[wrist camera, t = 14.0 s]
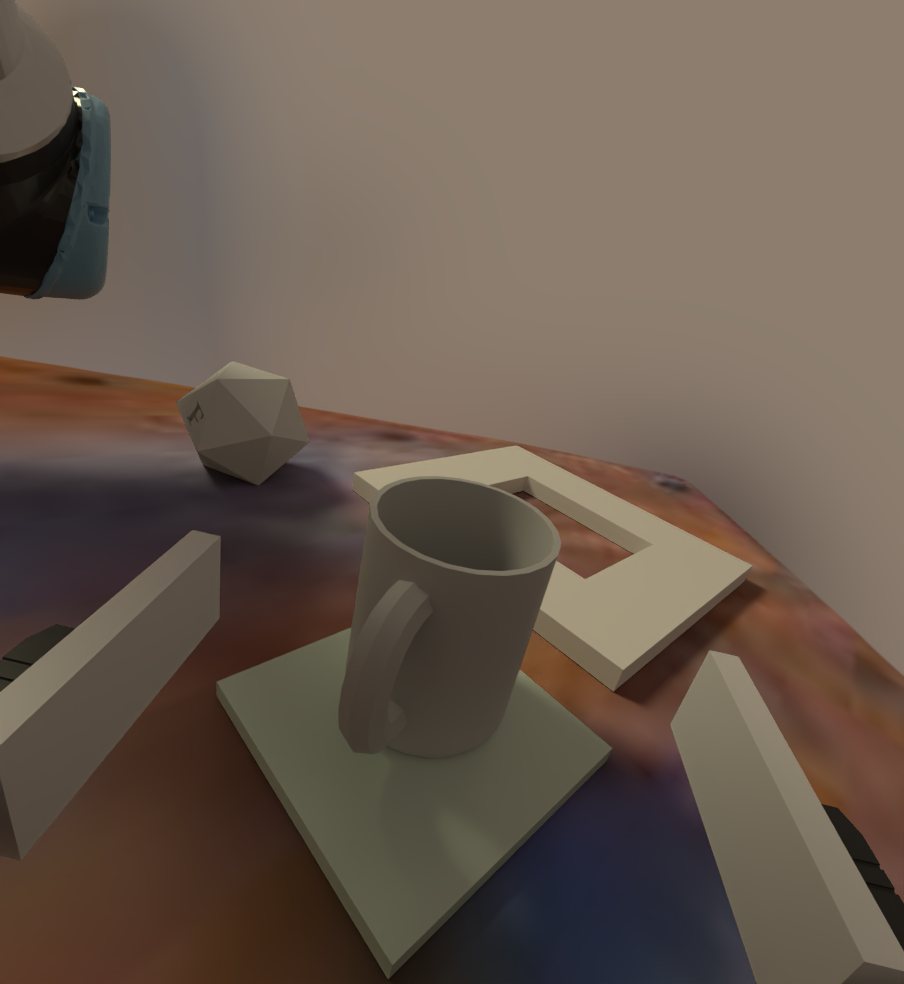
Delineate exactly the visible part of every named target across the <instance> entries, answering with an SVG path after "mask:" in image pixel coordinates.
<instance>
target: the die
mask: <svg viewBox="0 0 904 984" xmlns="http://www.w3.org/2000/svg"><path fill="white" fill-rule="evenodd" d="M176 404H177V406H178V408H179V411H180V413H181V415H182V418H183V420H184V422H185V425H186V427H187V429H188V432H189V434H190V436H191V439H192V441H193V444H194V446H195V448H196V451H197V453H198V455H199V457H200V459H201V461H202V464H203V465H204V466H207V467H210V468H212V469H215V470H218V471H220V472H223V473H226V474H228V475H231V476H234V477H236V478H239V479H242V480H244V481H247V482H250V483H252V484H255V485H258V486H259V485H260V484H261V483H262V482H263V481H265V480H266V479H267V478H268V477H269V476H270V475H272V474H273V473H274V472H275V471H276V470H278V469H279V468H280V467H281V466H282V465H283V464H285V463H286V462H287V461H288V460H289V459H290V458H292V457H293V456H294V455H295V454H296V453H297V452H299V451H300V450H301V449H302V448H303V447H305V446H306V445H307V444H308V443H309V439H308V436H307V433H306V430H305V426H304V423H303V420H302V417H301V414H300V411H299V408H298V405H297V401H296V398H295V395H294V392H293V389H292V386H291V382H290V379H287V378H284V377H281V376H278V375H275V374H272V373H268V372H265V371H262V370H259V369H255V368H253V367H249V366H246V365H243V364H239V363H237V362H231V363H229V364H228V365H226V366H225V367H224V368H223V369H221V370H220V371H218V372H217V373H216V374H214V375H213V376H211V377H210V378H209V379H207V380H206V381H204V382H203V383H202V384H201V385H199V386H198V387H196V388H195V389H194V390H192V391H191V392H189V393H188V394H187V395H185V396H184V397H183V398H181V399H180V400H178V401H177V402H176Z"/></svg>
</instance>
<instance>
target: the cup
mask: <svg viewBox="0 0 904 984" xmlns="http://www.w3.org/2000/svg"><path fill="white" fill-rule="evenodd" d="M560 547H561V541H560V537H559V533H558V531H557V529H556V528H555V527H554V525H553V524H552V522H551V521H550V519H548V518H547V517H546V516H545V515H544V514H543V513H542V512H540V511H539V510H538V509H537V508H536V507H534V506H532V505H531V504H529V503H527V502H526V501H524V500H523V499H521V498H519V497H517V496H515V495H512V494H510V493H508V492H506V491H504V490H501V489H498V488H495V487H492V486H489V485H486V484H483V483H479V482H475V481H470V480H465V479H461V478H452V477H442V476H418V477H412V478H406V479H400V480H398V481H395V482H392V483H390V484H387V485H385V486H384V487H383V488H381V489H380V490H379V491H377V492H376V493H375V495H374V497H373V499H372V501H371V503H370V506H369V513H368V520H367V526H366V533H365V540H364V547H363V553H362V560H361V567H360V573H359V580H358V587H357V594H356V600H355V607H354V614H353V620H352V627H351V634H350V640H349V647H348V654H347V661H346V672H345V678H344V681H343V685H342V689H341V696H340V702H339V709H338V719H339V729H340V731H341V733H342V735H343V736H344V738H345V740H346V741H347V743H348V744H349V746H350V748H351V749H352V751H353V752H355V753H365V754H375V753H379V752H381V751H382V750H383V749H384V748H385V747H386V746H388V747H390V748H392V749H394V750H397V751H399V752H401V753H403V754H407V755H412V756H417V757H422V758H447V757H451V756H454V755H457V754H461V753H464V752H467V751H470V750H473V749H474V748H476V747H477V746H479V745H480V744H482V743H483V742H485V741H486V740H488V739H489V738H490V736H491V735H492V734H493V733H494V731H495V730H496V729H497V728H498V726H499V725H500V723H501V720H502V718H503V716H504V714H505V711H506V708H507V705H508V702H509V699H510V696H511V693H512V690H513V687H514V684H515V681H516V678H517V675H518V672H519V669H520V666H521V663H522V660H523V657H524V654H525V652H526V649H527V646H528V643H529V640H530V637H531V634H532V631H533V628H534V625H535V622H536V619H537V616H538V613H539V610H540V607H541V604H542V601H543V598H544V595H545V592H546V589H547V586H548V583H549V580H550V577H551V574H552V571H553V568H554V565H555V563H556V560H557V557H558V553H559V550H560Z"/></svg>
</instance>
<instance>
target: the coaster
mask: <svg viewBox="0 0 904 984" xmlns="http://www.w3.org/2000/svg"><path fill="white" fill-rule="evenodd" d="M350 634H351V628H348V629H346V630H343V631H341V632H338V633H336V634H333V635H331V636H329V637H326V638H324V639H321V640H319V641H316V642H314V643H311V644H309V645H306V646H304V647H301V648H299V649H296V650H294V651H291V652H289V653H286V654H284V655H281V656H279V657H276V658H274V659H271V660H269V661H267V662H264V663H262V664H259V665H257V666H254V667H252V668H249V669H247V670H244V671H242V672H239V673H237V674H234V675H232V676H229V677H227V678H224V679H222V680H219V681H217V683H216V696H217V698H218V699H219V701H220V703H221V704H222V706H223V707H224V709H225V711H226V712H227V714H228V716H229V717H230V719H231V721H232V722H233V724H234V726H235V727H236V729H237V731H238V732H239V734H240V736H241V737H242V739H243V741H244V742H245V744H246V746H247V747H248V749H249V750H250V752H251V754H252V755H253V757H254V759H255V760H256V762H257V764H258V765H259V767H260V769H261V770H262V772H263V774H264V775H265V777H266V779H267V780H268V782H269V784H270V785H271V787H272V789H273V790H274V792H275V793H276V795H277V797H278V798H279V800H280V802H281V803H282V805H283V807H284V808H285V810H286V812H287V813H288V815H289V817H290V818H291V820H292V822H293V823H294V825H295V827H296V828H297V830H298V832H299V833H300V835H301V836H302V838H303V840H304V841H305V843H306V845H307V846H308V848H309V850H310V851H311V853H312V855H313V856H314V858H315V860H316V861H317V863H318V865H319V866H320V868H321V870H322V871H323V873H324V874H325V876H326V878H327V879H328V881H329V883H330V884H331V886H332V888H333V889H334V891H335V893H336V894H337V896H338V898H339V899H340V901H341V903H342V904H343V906H344V908H345V909H346V911H347V913H348V914H349V916H350V917H351V919H352V921H353V922H354V924H355V926H356V927H357V929H358V931H359V932H360V934H361V936H362V937H363V939H364V941H365V942H366V944H367V946H368V947H369V949H370V951H371V952H372V954H373V956H374V957H375V959H376V960H377V962H378V964H379V965H380V967H381V969H382V970H383V972H384V974H385V975H386V977H387V979H389V978H390V977H391V976H392V975H393V974H394V973H395V972H396V971H397V970H398V969H399V968H400V967H401V966H402V965H403V964H404V963H405V962H406V961H407V960H408V959H409V958H410V957H411V956H412V955H413V954H414V953H415V952H416V951H417V950H418V949H419V948H420V947H421V946H422V945H423V944H424V943H425V942H426V941H427V940H428V939H429V938H430V937H431V936H432V935H433V934H434V933H435V932H436V931H437V930H438V929H439V928H440V927H441V926H442V925H443V924H444V923H445V922H446V921H447V920H448V919H449V918H450V917H451V916H452V915H453V914H454V913H455V912H456V911H457V910H458V909H459V908H460V907H461V906H462V905H463V904H464V903H465V902H466V901H467V900H468V899H469V898H470V897H471V896H472V895H473V894H474V893H475V892H476V891H477V890H478V889H479V888H480V887H481V886H482V885H483V884H484V883H485V882H486V881H487V880H488V879H489V878H490V877H491V876H492V875H493V874H494V873H495V872H496V871H497V870H498V869H499V868H500V867H501V866H502V865H503V864H504V863H505V862H506V861H507V860H508V859H509V858H510V857H511V856H512V855H513V854H514V853H515V852H516V851H517V850H518V849H519V848H520V847H521V846H522V845H523V844H524V843H525V842H526V841H527V840H528V839H529V838H530V837H531V836H532V835H533V834H534V833H535V832H536V831H537V830H538V829H539V828H540V827H541V826H542V825H543V824H544V823H545V822H546V821H547V820H548V819H549V818H550V817H551V816H552V815H553V814H554V813H555V812H556V811H557V810H558V809H559V808H560V807H561V806H562V805H563V804H564V803H565V802H566V801H567V800H568V799H569V798H570V797H571V796H572V795H573V794H574V793H575V792H576V791H577V790H578V789H579V788H580V787H581V786H582V785H583V784H584V783H585V782H586V781H587V780H588V779H589V778H590V777H591V776H592V775H593V774H594V773H595V772H596V771H597V770H598V769H599V768H600V767H601V766H602V765H603V764H604V763H605V762H606V761H607V759H608V757H609V755H610V753H611V750H612V748H611V747H610V746H609V745H608V744H607V743H606V742H604V741H603V740H602V739H601V738H600V737H598V736H597V735H596V734H595V733H594V732H593V731H591V730H590V729H589V728H588V727H587V726H586V725H584V724H583V723H582V722H581V721H580V720H578V719H577V718H576V717H575V716H574V715H573V714H571V713H570V712H569V711H568V710H567V709H566V708H564V707H563V706H562V705H561V704H560V703H558V702H557V701H556V700H555V699H554V698H553V697H551V696H550V695H549V694H548V693H547V692H545V691H544V690H543V689H542V688H541V687H540V686H538V685H537V684H536V683H535V682H534V681H533V680H531V679H530V678H529V677H528V676H527V675H525V674H524V673H523V672H522V671H521V670H520V669H519V672H518V675H517V678H516V681H515V684H514V687H513V690H512V693H511V696H510V699H509V702H508V705H507V708H506V711H505V714H504V716H503V718H502V720H501V723H500V725H499V726H498V728H497V729H496V730H495V731H494V733H493V734H492V735H491V736H490V738H489V739H488V740H486V741H485V742H483V743H482V744H480V745H479V746H477V747H476V748H474V749H473V750H470V751H467V752H464V753H461V754H457V755H454V756H451V757H447V758H422V757H417V756H412V755H407V754H403V753H401V752H399V751H397V750H394V749H392V748H390V747H388V746H386V747H385V748H384V749H383V750H382V751H381V752H379V753H375V754H365V753H355V752H353V751H352V749H351V748H350V746H349V744H348V743H347V741H346V740H345V738H344V736H343V735H342V733H341V731H340V729H339V719H338V709H339V702H340V696H341V689H342V685H343V681H344V678H345V672H346V661H347V654H348V647H349V640H350Z"/></svg>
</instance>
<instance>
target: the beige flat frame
mask: <svg viewBox="0 0 904 984" xmlns="http://www.w3.org/2000/svg"><path fill="white" fill-rule="evenodd" d="M418 476H442V477H452V478H461V479H465V480H470V481H475V482H479V483H483V484H486V485H489V486H492V487H495V488H498V489H501V490H504V491H506V492H508V493H510V494H513V493H517V492H521V491H525V492H527V493H528V494H530V495H532V496H534V497H535V498H537V499H539V500H540V501H542V502H544V503H546V504H547V505H549V506H551V507H553V508H554V509H556V510H558V511H560V512H561V513H563V514H565V515H567V516H568V517H570V518H572V519H574V520H575V521H577V522H579V523H581V524H582V525H584V526H586V527H588V528H589V529H591V530H593V531H595V532H596V533H598V534H600V535H602V536H603V537H605V538H607V539H608V540H610V541H612V542H614V543H615V544H617V545H619V546H621V547H622V548H624V549H626V550H628V551H629V552H631V553H633V554H634V555H632V556H630V557H628V558H626V559H624V560H622V561H620V562H618V563H616V564H614V565H612V566H610V567H608V568H606V569H604V570H603V571H601V572H599V573H597V574H595V575H593V576H591V577H589V578H587V579H584V578H582V577H581V576H579V575H577V574H576V573H574V572H573V571H571V570H570V569H568V568H567V567H565V566H564V565H562V564H560V563H559V562H557V561H556V563H555V565H554V568H553V571H552V574H551V577H550V580H549V583H548V586H547V589H546V592H545V595H544V598H543V601H542V604H541V607H540V610H539V613H538V616H537V619H536V622H535V625H534V628H533V630H534V631H535V632H537V633H538V634H539V635H541V636H542V637H543V638H544V639H546V640H547V641H548V642H550V643H551V644H552V645H554V646H555V647H556V648H557V649H559V650H560V651H561V652H563V653H564V654H565V655H566V656H568V657H569V658H570V659H572V660H573V661H574V662H576V663H577V664H578V665H579V666H581V667H582V668H583V669H585V670H586V671H587V672H588V673H590V674H591V675H592V676H594V677H595V678H596V679H598V680H599V681H600V682H601V683H603V684H604V685H605V686H607V687H608V688H609V689H610V690H612V691H613V692H614V691H615V690H616V689H617V688H618V687H620V686H621V685H622V684H623V683H624V682H626V681H627V680H628V679H629V678H630V677H632V676H633V675H634V674H635V673H636V672H637V671H639V670H640V669H641V668H642V667H643V666H645V665H646V664H647V663H648V662H649V661H651V660H652V659H653V658H654V657H655V656H657V655H658V654H659V653H660V652H661V651H662V650H664V649H665V648H666V647H667V646H668V645H670V644H671V643H672V642H673V641H674V640H676V639H677V638H678V637H679V636H680V635H681V634H683V633H684V632H685V631H686V630H687V629H689V628H690V627H691V626H692V625H693V624H695V623H696V622H697V621H698V620H699V619H700V618H702V617H703V616H704V615H705V614H706V613H708V612H709V611H710V610H711V609H712V608H714V607H715V606H716V605H717V604H718V603H719V602H721V601H722V600H723V599H724V598H725V597H727V596H728V595H729V594H730V593H731V592H733V591H734V590H735V589H736V588H737V587H738V586H740V585H741V584H742V583H743V582H744V581H745V579H746V577H747V575H748V573H749V571H750V570H751V568H752V565H750V564H748V563H746V562H744V561H742V560H740V559H738V558H736V557H734V556H732V555H730V554H728V553H726V552H724V551H722V550H720V549H718V548H717V547H715V546H713V545H711V544H709V543H707V542H705V541H703V540H701V539H699V538H697V537H695V536H693V535H691V534H689V533H687V532H685V531H683V530H681V529H679V528H677V527H675V526H673V525H671V524H669V523H668V522H666V521H664V520H662V519H660V518H658V517H656V516H654V515H652V514H650V513H648V512H646V511H644V510H642V509H640V508H638V507H636V506H634V505H632V504H630V503H628V502H626V501H624V500H622V499H620V498H619V497H617V496H615V495H613V494H611V493H609V492H607V491H605V490H603V489H601V488H599V487H597V486H595V485H593V484H591V483H589V482H587V481H585V480H583V479H581V478H579V477H577V476H575V475H573V474H571V473H570V472H568V471H566V470H564V469H562V468H560V467H558V466H556V465H554V464H552V463H550V462H548V461H546V460H544V459H542V458H540V457H538V456H536V455H534V454H532V453H530V452H528V451H526V450H524V449H523V448H521V447H519V446H511V447H505V448H499V449H493V450H487V451H481V452H475V453H469V454H463V455H457V456H451V457H445V458H439V459H433V460H427V461H421V462H415V463H409V464H402V465H396V466H390V467H384V468H378V469H372V470H366V471H360V472H354V478H353V485H352V490H353V491H354V492H356V493H357V494H358V495H359V496H361V497H362V498H363V499H365V500H366V501H367V502H368V503H371V501H372V499H373V497H374V495H375V493H376V492H377V491H379V490H380V489H381V488H383V487H384V486H385V485H387V484H390V483H392V482H395V481H398V480H400V479H406V478H412V477H418Z"/></svg>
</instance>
